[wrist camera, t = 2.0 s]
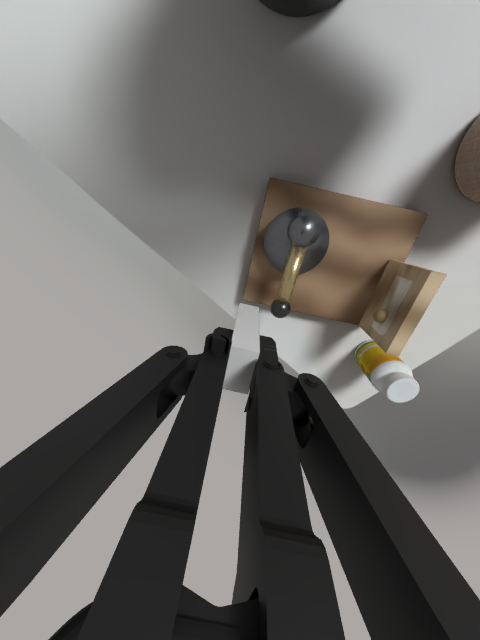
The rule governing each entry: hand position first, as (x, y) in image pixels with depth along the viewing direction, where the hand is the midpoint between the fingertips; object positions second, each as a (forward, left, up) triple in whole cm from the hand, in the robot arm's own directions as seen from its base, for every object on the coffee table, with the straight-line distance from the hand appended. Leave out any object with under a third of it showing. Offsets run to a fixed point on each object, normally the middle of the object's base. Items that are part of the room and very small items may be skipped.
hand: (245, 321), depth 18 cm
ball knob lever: (-3, +5, -16) cm, 17 cm away
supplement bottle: (+9, +23, -19) cm, 30 cm away
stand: (-4, +10, -18) cm, 21 cm away
